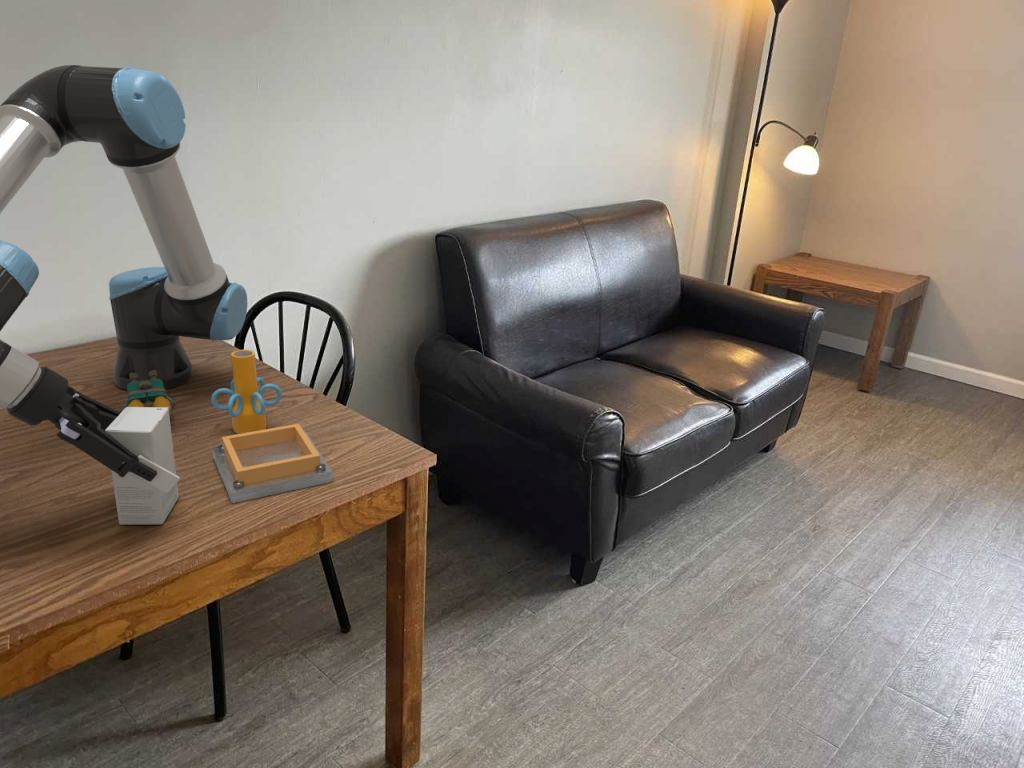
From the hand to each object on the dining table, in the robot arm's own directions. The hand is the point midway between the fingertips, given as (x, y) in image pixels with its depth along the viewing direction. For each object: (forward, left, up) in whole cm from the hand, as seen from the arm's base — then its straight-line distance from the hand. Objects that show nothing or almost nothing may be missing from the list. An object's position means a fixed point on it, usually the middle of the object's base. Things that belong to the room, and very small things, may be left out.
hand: (168, 469), depth 113 cm
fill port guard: (-5, +16, -5) cm, 17 cm away
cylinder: (-22, +16, -7) cm, 28 cm away
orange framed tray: (-5, +16, -7) cm, 18 cm away
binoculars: (-30, 0, -7) cm, 31 cm away
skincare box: (0, -3, -7) cm, 7 cm away
